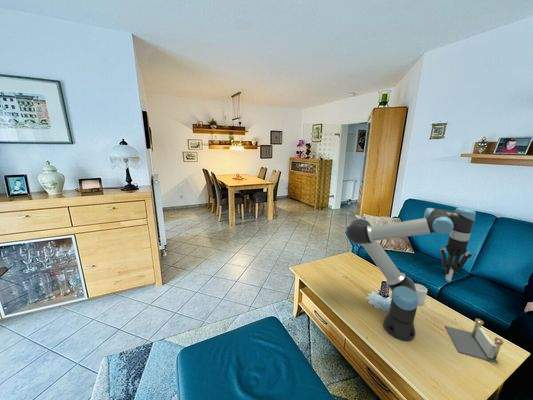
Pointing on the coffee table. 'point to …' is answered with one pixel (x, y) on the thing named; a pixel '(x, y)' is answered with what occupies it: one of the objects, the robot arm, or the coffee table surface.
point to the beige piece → (485, 342)
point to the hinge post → (477, 324)
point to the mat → (467, 344)
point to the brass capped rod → (498, 343)
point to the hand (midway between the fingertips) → (448, 279)
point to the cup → (421, 293)
